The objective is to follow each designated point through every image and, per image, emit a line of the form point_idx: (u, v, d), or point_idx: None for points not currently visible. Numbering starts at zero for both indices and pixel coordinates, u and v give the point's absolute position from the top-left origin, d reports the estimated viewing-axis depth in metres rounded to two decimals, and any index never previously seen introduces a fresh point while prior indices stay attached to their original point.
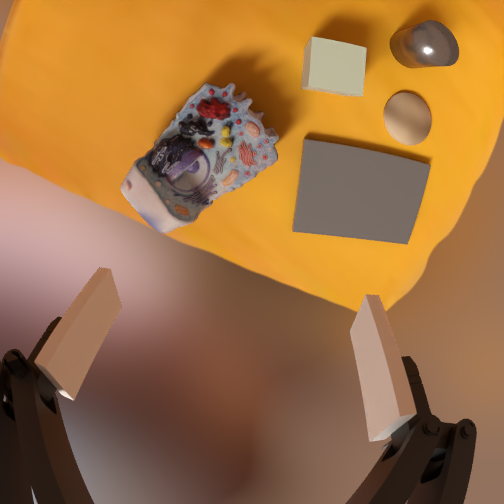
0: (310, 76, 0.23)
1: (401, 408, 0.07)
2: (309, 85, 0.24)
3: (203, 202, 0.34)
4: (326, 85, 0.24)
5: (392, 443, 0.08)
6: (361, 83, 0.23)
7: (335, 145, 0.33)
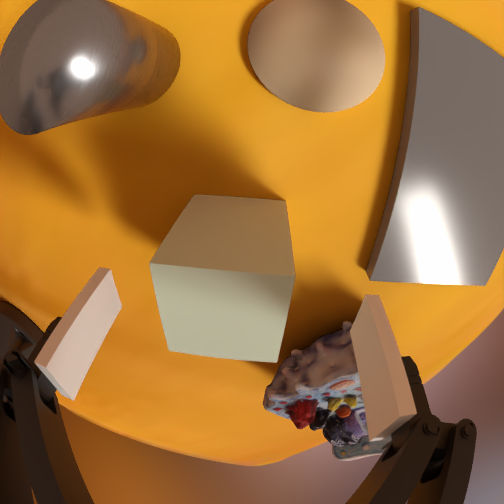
0: (255, 359, 0.14)
1: (401, 408, 0.07)
2: (274, 361, 0.14)
3: None
4: (273, 340, 0.13)
5: (392, 443, 0.08)
6: (257, 278, 0.11)
7: (389, 230, 0.17)
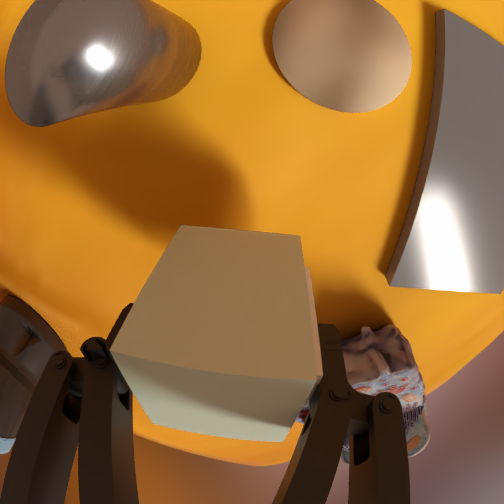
0: (256, 439, 0.10)
1: None
2: (280, 440, 0.10)
3: (419, 411, 0.20)
4: (279, 428, 0.09)
5: (308, 415, 0.09)
6: (261, 381, 0.07)
7: (411, 236, 0.16)
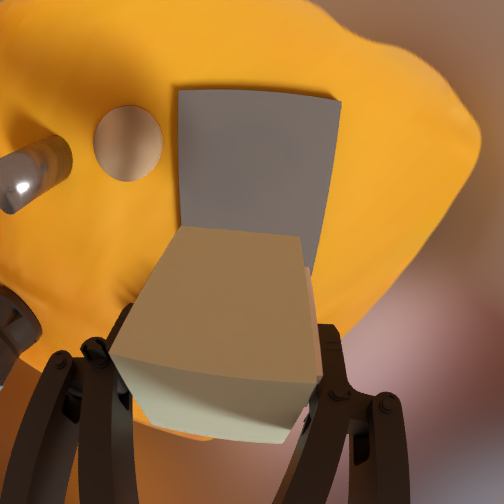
0: (256, 441, 0.10)
1: None
2: (280, 442, 0.10)
3: None
4: (279, 430, 0.09)
5: (308, 415, 0.09)
6: (261, 384, 0.07)
7: None
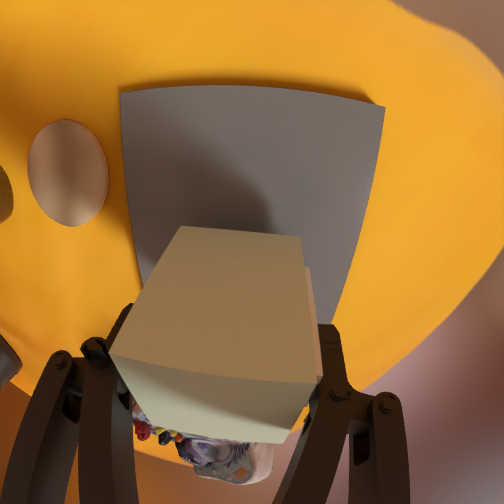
0: (256, 441, 0.10)
1: None
2: (280, 442, 0.10)
3: (245, 447, 0.25)
4: (279, 430, 0.09)
5: (308, 415, 0.09)
6: (261, 384, 0.07)
7: None
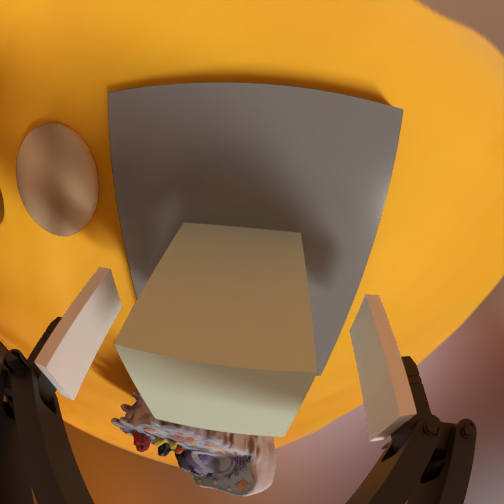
0: (258, 434, 0.10)
1: (401, 408, 0.07)
2: (281, 435, 0.10)
3: (247, 460, 0.23)
4: (280, 422, 0.09)
5: (392, 443, 0.08)
6: (262, 374, 0.07)
7: None
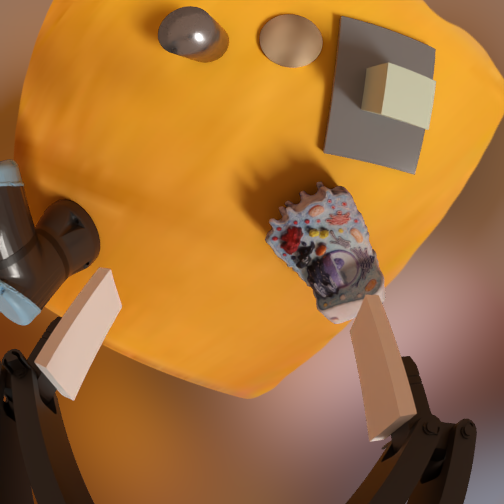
0: (420, 125, 0.22)
1: (401, 408, 0.07)
2: (427, 128, 0.22)
3: (371, 260, 0.36)
4: (428, 112, 0.21)
5: (392, 443, 0.08)
6: (424, 78, 0.19)
7: (330, 122, 0.31)
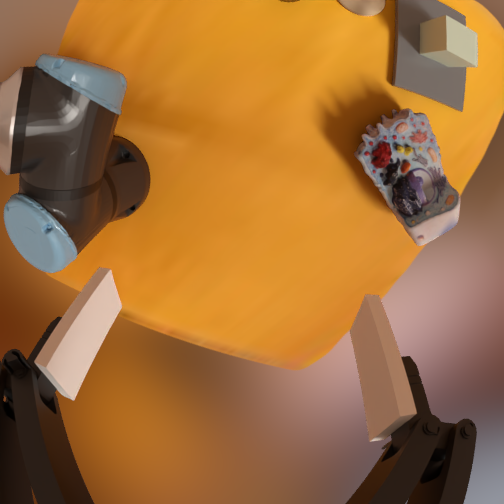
0: (471, 63, 0.19)
1: (401, 408, 0.07)
2: (476, 66, 0.19)
3: (444, 180, 0.32)
4: (475, 54, 0.18)
5: (392, 443, 0.08)
6: (469, 30, 0.16)
7: (398, 61, 0.28)
